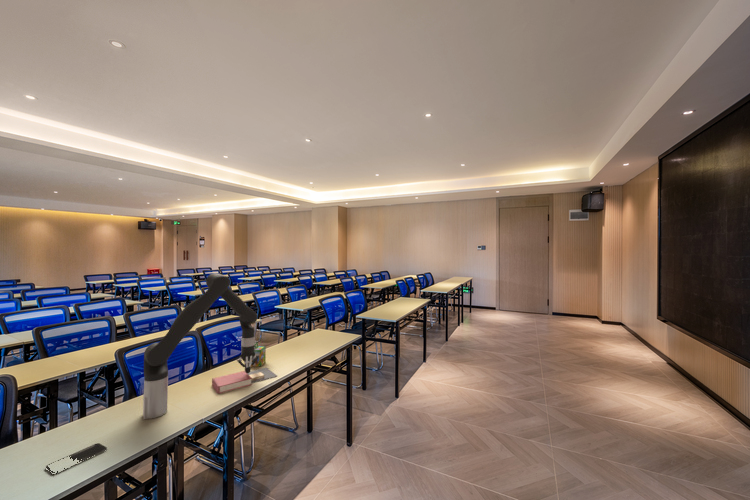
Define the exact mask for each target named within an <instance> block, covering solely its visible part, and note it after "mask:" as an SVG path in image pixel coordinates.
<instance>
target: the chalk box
mask: <svg viewBox="0 0 750 500" xmlns="http://www.w3.org/2000/svg"><path fill="white" fill-rule="evenodd" d="M258 344H259V343H258V342H255V354H256V355H258V356H259V358H258V359H257V361H256V362H255V363H254V365H252V366H251V367H256V368H257V367H261V368H262V366H263V365H264V364H265V363H266V358H267V357H266V355H267V353H266V349H267V347H266V346H263V345H262V346H261V345H258ZM253 359H254V358H253ZM253 359H252V360H253Z"/></svg>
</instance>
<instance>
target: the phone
mask: <svg viewBox="0 0 750 500" xmlns="http://www.w3.org/2000/svg"><path fill="white" fill-rule="evenodd" d="M106 449H107V446H105V445H104V444H101V443H94V444H92V445H90V446H87V447H85V448H83V449H80V450H79V451H76V452H74V453H71V454H70V455H67V456H66V457H68V456H69V457H70V456H71V457H70V459H71V458H72V459H73V461H74V460H75V459H76V458H77V460H79V462H80V461H83V460H85V459H87V458H89V457H92V456H94V455H97V456H98V454H99V455H101V454H102V453H101V452H103V451H105V450H106ZM107 450H108V449H107ZM107 450H106V451H107ZM106 451H105V452H106ZM100 453H101V454H100ZM103 453H104V452H103ZM64 458H65V457H63V458H61V459H64ZM92 458H93V457H92ZM61 459H58V460H57V461H59V460H61ZM81 459H82V460H81ZM54 462H55V461H53V462H51V463H49V464H47V465H45V467H46V468H47V469H48V470H49V471H51V470H50V468H49V467H48V465H50V464H52V463H54ZM77 463H78V462H77ZM64 469H65V468H64ZM51 472H52V473H55V472H53V471H51ZM57 472H58V471H57Z"/></svg>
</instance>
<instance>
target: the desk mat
mask: <svg viewBox="0 0 750 500" xmlns="http://www.w3.org/2000/svg"><path fill="white" fill-rule="evenodd" d="M259 372H261V373H263V374H264V378H263V379H260V380H256V381H252V382H251V384H254V383H258V382H262V381H265V380H269V378H270V379H273V378H276V377H278V375H277V374H276V373H274V372H273V371H272V370H271V369H269V368H268V367H263V368H259V369H254V370H250V372H249V373H247V374H248V375H251V374H255V373H259Z"/></svg>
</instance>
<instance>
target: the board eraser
mask: <svg viewBox="0 0 750 500" xmlns="http://www.w3.org/2000/svg"><path fill="white" fill-rule="evenodd" d="M249 376H250V377H251V378H252V379H251V382H252V381H256V380H260V379H263V378H264V374H263V373H261V372H259V373H255V374H251V375H249Z"/></svg>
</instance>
